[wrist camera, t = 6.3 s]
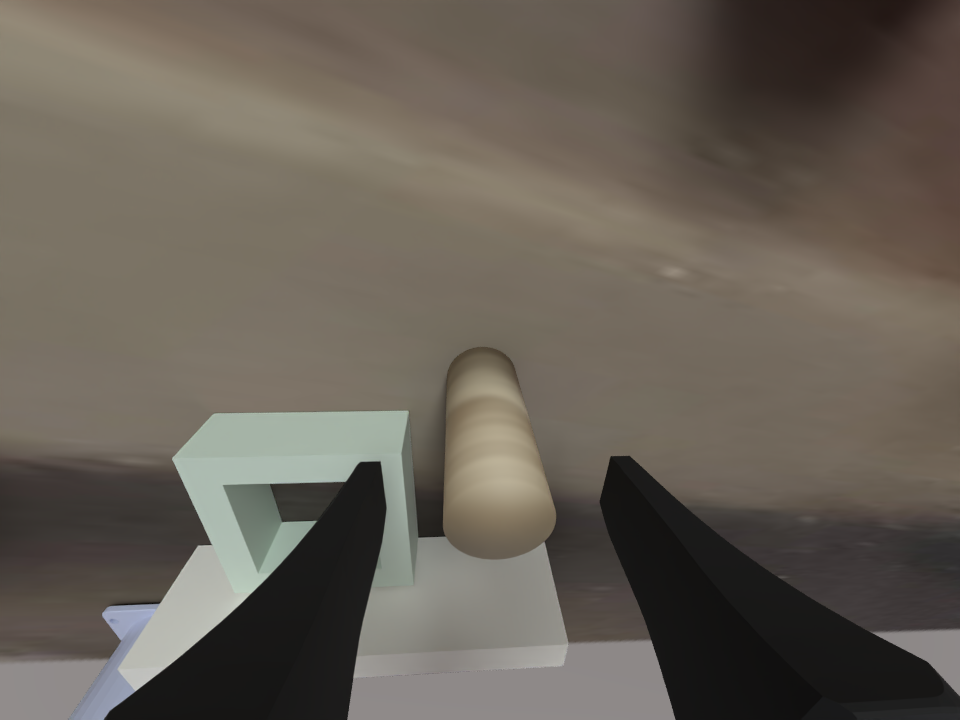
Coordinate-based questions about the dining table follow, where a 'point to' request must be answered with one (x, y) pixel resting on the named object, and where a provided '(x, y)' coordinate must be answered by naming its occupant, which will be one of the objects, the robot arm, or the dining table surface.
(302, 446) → the socket block
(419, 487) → the dining table surface
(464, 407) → the dowel
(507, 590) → the wall
